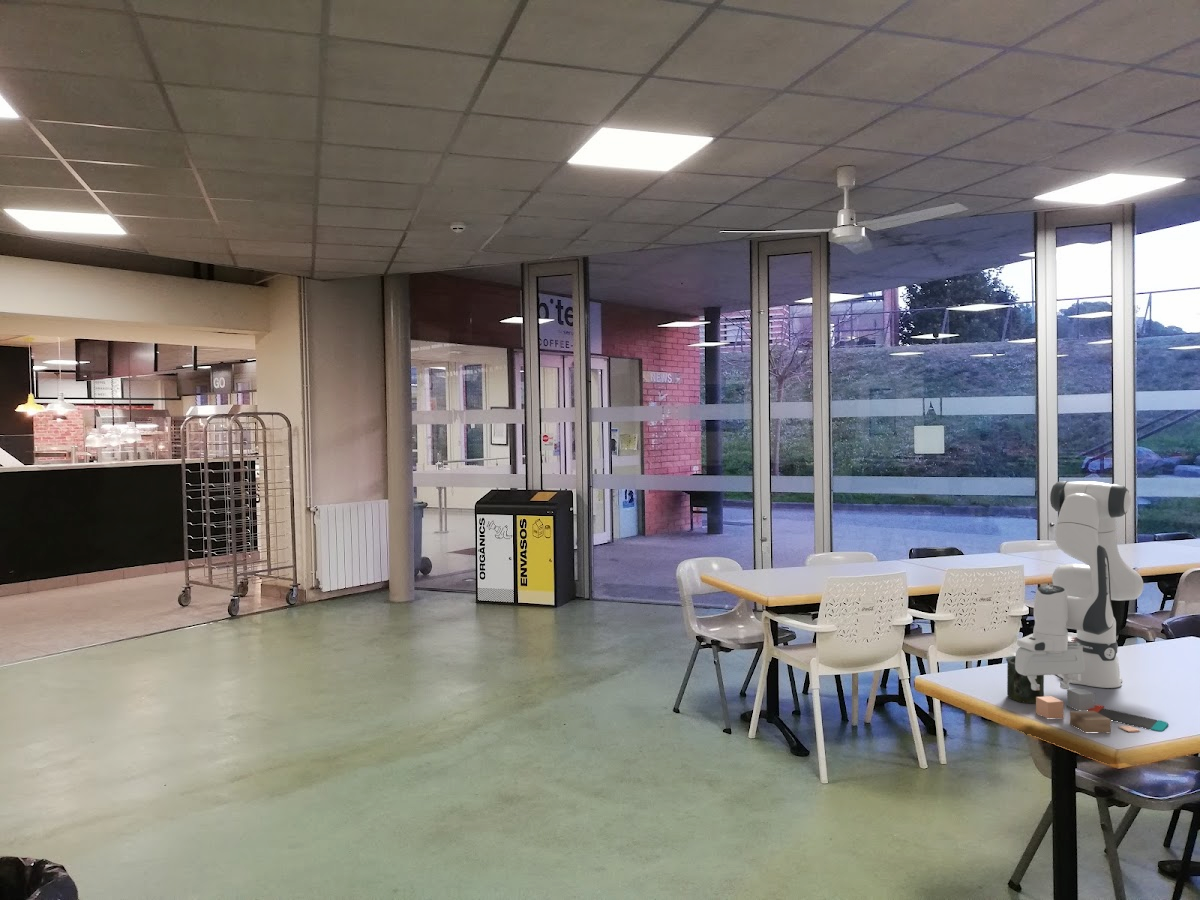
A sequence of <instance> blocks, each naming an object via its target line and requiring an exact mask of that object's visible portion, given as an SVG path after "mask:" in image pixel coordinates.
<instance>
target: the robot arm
mask: <svg viewBox="0 0 1200 900" xmlns="http://www.w3.org/2000/svg"><path fill="white" fill-rule="evenodd" d="M1049 501H1050V506H1051V507H1052V508H1053V510H1055V512H1057V513H1059V514H1058V517H1057V521H1056V526H1055V537H1054V539H1055V543H1056V545H1057V547H1058V548H1059V549H1060V550H1061V551H1062V552H1063V553H1064V554H1066V555H1067V556H1069V557H1071V558H1072V559H1075V560H1077V561H1079V562H1082V563H1066V564H1060V565H1058V566H1057V567H1056V568H1055V569H1053V573H1052V576H1051V581H1052V584H1049V585H1048V584H1047V585H1040V586H1039V587H1037V589H1036V591H1035V596H1034V600H1033V601H1034V602H1033V618H1034V626H1033V630H1032V631H1033V633H1030V634H1028V635H1026V636H1023V637H1020V638H1018V639H1017V640H1016V641H1017V642H1016V643H1017V644H1016V645H1017V647H1018V648H1017V649H1016V653H1015V656H1016V658H1015V669H1016V671H1017V672H1018V673H1019V674H1021V675H1024V676H1027V677H1028V679H1029V681H1030V683H1031V689H1032V690H1040V688H1039V687H1040V685H1039V684H1037V683H1036V681H1035V679H1037V675H1044V676H1057V677H1059V678H1061V679H1063V680H1062V681H1060V682H1059V685H1060V686H1059V687H1060V689H1062V690H1067V689H1070V684H1074V685H1082V686H1088V687H1093V688H1094V687H1095V688H1107V689H1109V688H1111V689H1113V688H1114V689H1115V688H1120V687H1121V686H1122V682H1123V678H1122V677H1121V671H1120V664H1119V663H1120V662H1119V661H1120V660H1119V658H1118V655H1117V654H1118V648H1119V646H1118V641H1117V621H1116V618H1115V616H1114V611H1113V604H1112V603H1113V602H1112V601H1119V602H1120V601H1132V600H1133V601H1134V600H1137V599H1138V598H1139V597H1140V596H1141V595H1142V593H1143V591H1144V584H1145V583H1144V580H1143V578H1142V576H1141V575H1140V573H1139V572H1138V571H1136V570H1135V569H1134V568H1132V567H1131V566H1129V564H1128V563H1126V562H1125V560H1124V559H1123V558H1122V556H1121V554H1120V552H1119V549H1118V542H1117V518H1122V517H1123V516H1125V515H1126V514H1127V513H1128V511H1129V509H1130V507H1131V503H1132V498H1131V495H1130V490H1129V489H1128V488H1127V487H1126V486H1124V485H1122V484H1118V483H1113V484H1112V483H1107V482H1101V481H1093V480H1090V481H1085V480H1084V481H1069V480H1061V481H1057V482H1055V484H1053V486H1052V488H1051V490H1050V493H1049ZM1083 563H1084V564H1083ZM1068 629H1069V630H1070V629H1071V630H1076V636H1075V637H1070V639H1071V640H1069V631H1068Z"/></svg>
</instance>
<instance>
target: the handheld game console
mask: <svg viewBox="0 0 1200 900" xmlns="http://www.w3.org/2000/svg"><path fill="white" fill-rule="evenodd" d="M1088 711H1095V712H1097V713H1099V714H1101V715H1103V716H1105V717H1107V718H1109V719H1111V720H1113V721H1112V722H1114V721H1118V722H1122V723H1121V724H1123V723H1125V724H1124V725H1127V724H1129V725H1128V726H1131V725H1134V726H1133V727H1136V726H1138V727H1137V728H1140V727H1143V728H1142V729H1145V728H1146V730H1149V729H1151V730H1150V731H1155V732H1164V731H1165V730H1166V729H1167V728H1168V727H1169V723H1168V722H1167V721H1164V720H1162V719H1161V720H1159V719H1158V720H1157V719H1154V718H1150V717H1146V716H1140V715H1138V714H1137V715H1136V714H1131V713H1126V712H1123V711H1118V710H1113V709H1108V708H1105V706H1104V705H1100V704H1094V708H1091V709H1089V710H1088ZM1118 722H1117V723H1118Z"/></svg>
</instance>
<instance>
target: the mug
mask: <svg viewBox="0 0 1200 900" xmlns="http://www.w3.org/2000/svg"><path fill="white" fill-rule="evenodd" d="M1015 658H1016V655H1014V656H1013V655H1010V656H1007V657H1006V658H1005V661H1006V664H1007V669H1006V670H1007V681H1006V682H1007V683H1006V684H1007V685H1006V686H1007V687H1006V688H1007V692H1006V693H1007V696H1008V699H1010V700H1013V701H1015V702H1020V703H1025V704H1036V697H1045V695H1044V692H1045V691H1044V690H1045V689H1044V688H1045V685H1044V684H1045V683H1044V682H1045V681H1044V680H1045V675H1037V679H1035V681H1036V683H1037V684H1039V685H1040V687H1039V688H1040V690H1032V689H1031V683H1030V681H1029V679H1028V677H1027V676H1024V675H1021V674H1019V673H1018V672H1017V671H1016V669H1015Z"/></svg>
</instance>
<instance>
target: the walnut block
mask: <svg viewBox="0 0 1200 900" xmlns="http://www.w3.org/2000/svg"><path fill="white" fill-rule="evenodd" d="M1111 722H1112V721H1111V719H1109V718H1107V717H1105V716H1103V715H1101V714H1099V713H1097V712H1095V711H1078V710H1071V711H1069V725H1070V724H1071V725H1070V726H1072V725H1073V726H1072V727H1074V726H1075V727H1077V728H1079V729H1081V730H1082V731H1084V732H1100V733H1099V734H1102V733H1101V732H1111V728H1112V727H1111V726H1112V725H1111ZM1075 727H1074V728H1075ZM1077 728H1076V729H1077ZM1079 729H1078V730H1079ZM1081 730H1080V731H1081ZM1082 731H1081V732H1082ZM1084 732H1083V733H1084ZM1111 733H1112V732H1111Z"/></svg>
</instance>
